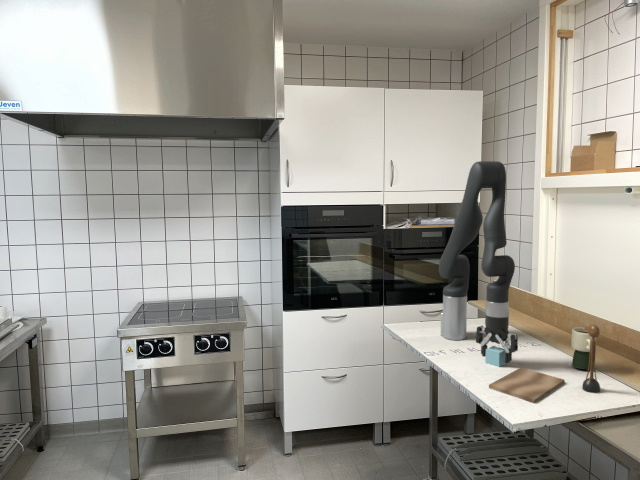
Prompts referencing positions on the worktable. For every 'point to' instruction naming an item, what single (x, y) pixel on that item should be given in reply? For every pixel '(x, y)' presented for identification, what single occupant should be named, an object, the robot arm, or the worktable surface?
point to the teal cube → (495, 356)
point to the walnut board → (527, 384)
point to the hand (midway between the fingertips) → (496, 359)
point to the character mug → (581, 348)
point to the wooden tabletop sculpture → (592, 362)
